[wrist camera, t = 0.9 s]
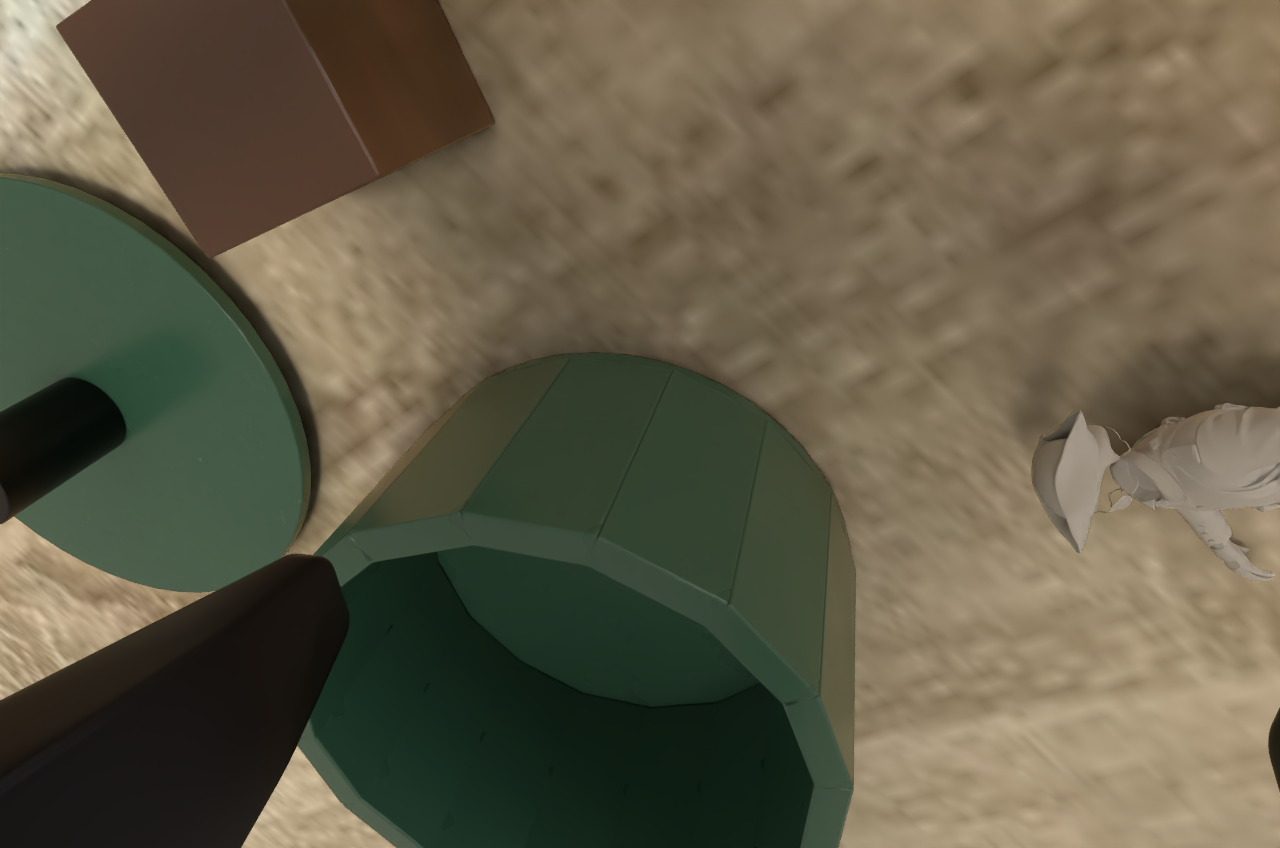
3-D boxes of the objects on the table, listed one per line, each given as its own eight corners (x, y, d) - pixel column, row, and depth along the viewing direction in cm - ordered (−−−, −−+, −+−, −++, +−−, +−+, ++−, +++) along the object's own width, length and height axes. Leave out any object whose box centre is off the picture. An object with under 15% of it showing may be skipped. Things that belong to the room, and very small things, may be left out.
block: (496, 123, 19) (381, 177, 14) (350, 192, 21) (207, 260, 16) (397, -88, 17) (229, -102, 13) (246, 7, 19) (52, 26, 14)
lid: (284, 633, 31) (186, 749, 26) (-69, 455, 30) (-229, 542, 26) (365, 319, 23) (243, 409, 18) (-115, 72, 22) (-359, 102, 18)
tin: (719, 764, 29) (678, 995, 22) (376, 591, 28) (236, 775, 22) (952, 503, 21) (989, 737, 15) (490, 263, 21) (329, 399, 14)
